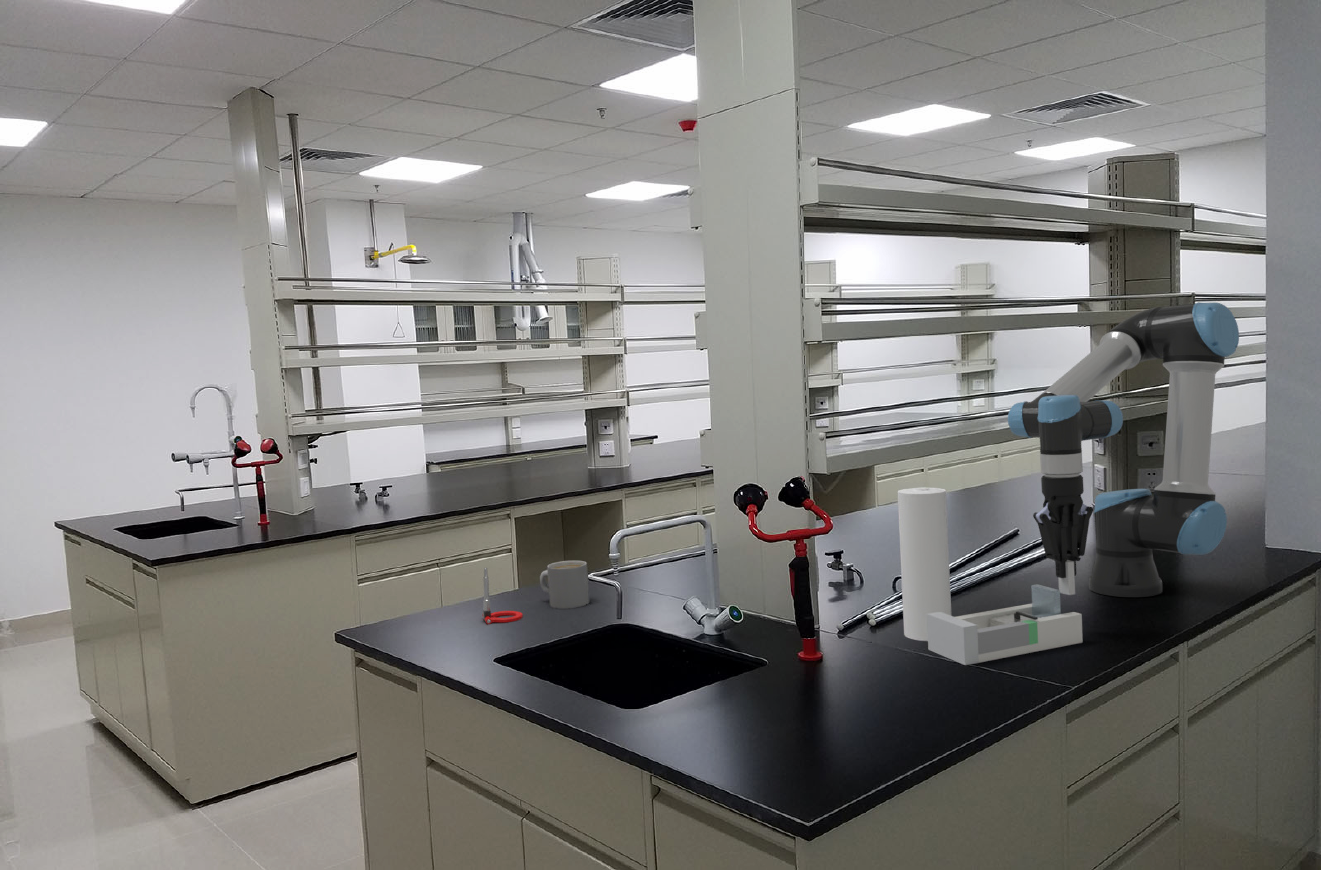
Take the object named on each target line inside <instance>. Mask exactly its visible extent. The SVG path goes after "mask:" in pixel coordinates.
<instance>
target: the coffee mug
mask: <svg viewBox="0 0 1321 870" xmlns="http://www.w3.org/2000/svg"><path fill="white" fill-rule="evenodd" d="M587 564H588V563H587V562H586V561H583V560H563V561H556V562H552V563H550V564H548V565H547V568H546V570H543V571H542V572H541V573H540V575H539V585H540V588H541V590H542V592H544V593H546V594H548V596H549V606H550V607H551V608H554V609H560V610H564V609H574V608H579V607H584V606H586V604H587V605H588V604H589V603H590V590H589V577H588V565H587ZM547 582H548V584H547Z"/></svg>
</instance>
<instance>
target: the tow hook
mask: <svg viewBox="0 0 1321 870" xmlns="http://www.w3.org/2000/svg"><path fill="white" fill-rule="evenodd" d="M483 574H484V575H483V579H482V580H483V604H482V606H483V609H482V618H483V621H484V622H485V623H486V624H487V625H491V624H492V623H511V622H515V621H516V622H518V621H519V620H522V618H523V613H522V612H520V611H516V610H501V611H495V612H492V611H491V600H490V591H489V589H490V587H489V585H490V583H489V575H488V567H484V568H483ZM491 612H492V613H491ZM501 616H502V617H501ZM503 616H510V617H503Z"/></svg>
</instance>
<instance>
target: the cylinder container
mask: <svg viewBox="0 0 1321 870" xmlns="http://www.w3.org/2000/svg"><path fill="white" fill-rule="evenodd" d="M947 503H948V502H947V490H946V489H945V488H939V487H924V486H923V487H912V488H904V489H899V490H897V509H898V510H897V511H898V527H899V530H898V531H899V532H898V534H899V550H900V551H899V552H900V571H901V574H900V575H901V590H902V591H901V592H902V593H901V596H902V616H903V636H904V637H905V638H908V639H911V640H915V641H921V642H928V629H927V614H930V613H936V612H942V613H945V614H948V615H950V616H952V603H951V600H952V598H951V597H952V596H951V578H950V577H951V576H950V575H951V573H950V552H949V531H948V510H947V509H948V505H947Z"/></svg>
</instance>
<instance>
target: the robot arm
mask: <svg viewBox="0 0 1321 870" xmlns="http://www.w3.org/2000/svg"><path fill="white" fill-rule="evenodd" d="M1239 342H1240V332H1239V326H1238V321H1237V319H1236V318H1235V316H1234V315H1233V312H1232V311H1231V310H1230V309H1229V308H1228V307H1227V306H1226V305H1225V304H1223V303H1221V302H1195V303H1186V304H1178V305H1169V306H1159V307H1158V306H1156V307H1151V308H1147V309H1144V310H1142V311H1139V312H1137V313H1135V314H1133V315H1131V316H1130V317H1128V318H1126V319H1124V320H1122V321H1121V322H1119V323H1118V324H1117V325H1116V326H1114V327H1113V328H1110V330H1108V332H1106V333H1105V334H1103V336H1101V338H1100V340H1099V344H1098V346H1097V347H1096V348H1094V349H1093V350H1092V351H1091V352H1090V353H1088V354H1087V355H1086V356H1084V357H1083V358H1082V359H1081V360H1080V361H1079V362H1077V363H1076V364H1075V365H1074V366H1072V367H1071V368H1070V369H1069V370H1068V371H1067V372H1066V373H1064V374H1063V375H1062V376H1061V377H1060V378H1058V379H1057V380H1056V381H1055V382H1054V383H1053V384H1051V385H1050V386H1049V387H1047V389H1046V390H1045V391H1043V392H1042V393H1041V394H1039V396H1036V397H1035V398H1034V399H1033V400H1032V401H1026V400H1025V401H1022V402H1021V401H1020V402H1017V403H1014V404H1013V405H1012V406H1011V407H1010V409H1009V411H1008V414H1007V423H1008V424H1007V425H1008V426H1009V430H1010V432H1011V433H1012V434H1014V436H1017V437H1023V438H1029V439H1033V438H1036V439H1037V438H1038V439H1039V445H1040V446H1039V447H1040V448H1039V453H1040V454H1039V457H1040V472H1041V473H1042V474H1043V475H1042V476H1041V479H1040V483H1041V494H1042V495H1043V497H1044V501H1043V502H1042V503H1043V504H1042V507H1043V508H1042V509H1040V511H1039V512H1034V513H1033V514H1032V517H1033V518H1034V520H1035V522H1036V524H1037V526H1038V529H1039V534H1040V537H1041V543H1042V545H1043V549H1044V553H1045V557H1046V559H1050V560H1052V561H1054V563H1055V577H1056V578H1058V590H1060V594H1063V595H1067V596H1072V595H1076V584H1075V583H1076V582H1075V581H1076V580H1075V577H1076V576H1077V562H1080V561H1081V557H1083V556H1085V555H1086V553H1085V552H1086V548H1087V547H1086V546H1087V539H1088V534H1089V526H1090V519H1091V516H1092V514H1094V529H1095V533H1094V534H1095V559H1094V563H1093V565H1092V571H1091V574H1090V575H1089V578H1088V590H1089V591H1092V592H1094V593H1096V594H1100V595H1105V596H1110V597H1117V598H1119V597H1120V598H1144V597H1145V598H1146V597H1152V596H1153V597H1154V596H1157V595H1160V594H1162V593H1163V581H1162V578H1161V577H1160V576H1159V572H1158V570H1157V569H1158V568H1157V566H1156V562H1155V560H1154V556H1153V550H1157V551H1164V552H1169V553H1170V552H1171V553H1179V554H1182V555H1197V556H1198V555H1199V556H1201V555H1202V556H1204V555H1207V554H1210V553H1212V552H1213V551H1214V550H1215V549H1216V548H1217V547H1218V546H1219V545H1220V543H1221V542H1222V541H1223V538H1224V536H1225V533H1226V530H1227V523H1228V521H1227V520H1228V518H1227V513H1226V509H1225V507H1224V505H1222V504H1221V502H1220V503H1219V502H1218V501H1217V500H1216V495H1217V494H1216V492H1215V491H1214V489H1212V488H1211V487H1210V485H1209V474H1210V461H1211V447H1212V446H1211V444H1212V429H1213V416H1214V400H1215V384H1216V374H1217V372H1218V373H1219V371H1221V370H1222V369H1223V368H1224V367H1225V358H1227V357H1230V356H1231V355H1233V354H1234V353H1235V352H1236V350H1237V348H1238V345H1239ZM1150 360H1162V366H1163V367H1164V368H1165V369H1166V370H1167V371H1168V372H1169V381H1168V395H1167V396H1168V397H1167V408H1166V409H1167V411H1166V427H1165V438H1164V440H1165V441H1164V454H1163V455H1164V456H1163V471H1162V472H1163V473H1162V481H1161V482H1160V483H1159V484H1158V485H1157V486H1156V487H1154V490H1153V494H1152V492H1151V489H1150V488H1131V489H1123V490H1122V489H1121V490H1111V491H1106V492H1101V493H1099V494H1098V495H1096V496H1095V498H1094V507H1093V506H1088V505H1086V504H1085V503H1084V501H1083V498H1082V494H1083V493H1084V490H1085V489H1084V477H1083V475H1082V472H1083V471H1084V468H1083V467H1084V466H1083V450H1082V442H1084V441H1090V440H1098V439H1100V440H1102V439H1103V440H1104V439H1105V438H1107V437H1111V436H1114V435H1116V434H1117V433H1118V432H1120V431H1121V428H1122V427H1123V424H1124V423H1123V422H1124V415H1123V412H1122V409H1121V408H1120V407H1119V405H1118V404H1116V403H1115V402H1113V401H1111V400H1108V399H1107V400H1103V399H1102V400H1101V399H1100V400H1099V399H1098V400H1097V399H1095V400H1093V401H1090V400H1091V399H1092V398H1093V397H1094V396H1095V395H1096V394H1098V393H1099V392H1100V391H1102V389H1103V388H1105V387H1106V386H1107V385H1108V384H1109V383H1110V382H1112V381H1113V380H1114V379H1115V378H1117V376H1118V375H1120V374H1121V373H1122V372H1123V371H1124V370H1130V369H1133V368H1135V367H1136V366H1137V365H1138V364H1140V363H1143V362H1145V361H1150Z"/></svg>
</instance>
